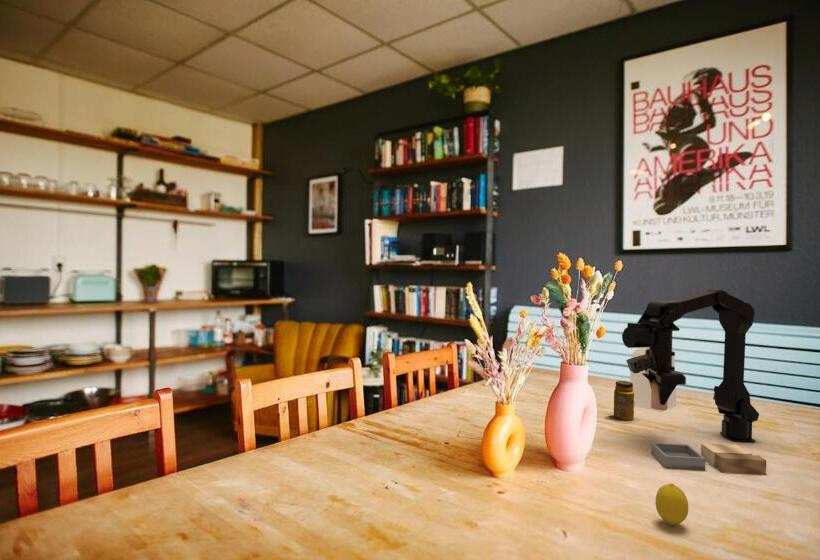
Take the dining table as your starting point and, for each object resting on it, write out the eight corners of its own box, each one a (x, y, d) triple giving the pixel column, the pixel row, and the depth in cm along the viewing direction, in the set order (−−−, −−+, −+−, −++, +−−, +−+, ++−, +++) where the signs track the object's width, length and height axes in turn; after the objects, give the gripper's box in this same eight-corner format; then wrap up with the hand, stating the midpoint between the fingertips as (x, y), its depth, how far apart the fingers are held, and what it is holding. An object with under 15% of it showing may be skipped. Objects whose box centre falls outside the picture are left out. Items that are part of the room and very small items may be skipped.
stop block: (758, 469, 117) (758, 455, 117) (766, 474, 114) (766, 460, 114) (714, 467, 118) (715, 453, 118) (721, 472, 115) (721, 457, 115)
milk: (661, 412, 164) (662, 337, 163) (628, 404, 172) (629, 333, 172) (676, 406, 171) (677, 334, 170) (644, 399, 180) (645, 330, 179)
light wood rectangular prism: (737, 460, 123) (737, 444, 123) (751, 470, 117) (752, 454, 117) (700, 458, 124) (701, 443, 124) (713, 468, 118) (713, 452, 118)
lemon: (649, 518, 93) (649, 477, 93) (675, 517, 94) (676, 477, 94) (666, 533, 88) (667, 491, 88) (694, 532, 88) (695, 490, 88)
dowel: (663, 406, 134) (664, 381, 134) (669, 410, 130) (670, 385, 130) (648, 405, 135) (649, 381, 135) (654, 409, 131) (654, 384, 131)
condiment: (639, 419, 155) (640, 383, 155) (624, 424, 151) (624, 386, 150) (619, 414, 161) (619, 378, 161) (603, 418, 157) (604, 382, 156)
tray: (688, 456, 125) (688, 444, 125) (705, 470, 116) (705, 458, 116) (651, 454, 126) (651, 442, 126) (665, 468, 117) (665, 456, 117)
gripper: (619, 341, 142) (618, 392, 143) (641, 351, 124) (640, 411, 124) (659, 342, 141) (658, 394, 141) (687, 353, 122) (686, 413, 123)
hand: (659, 402), depth 132 cm, fingers closed on dowel, 4 cm apart
